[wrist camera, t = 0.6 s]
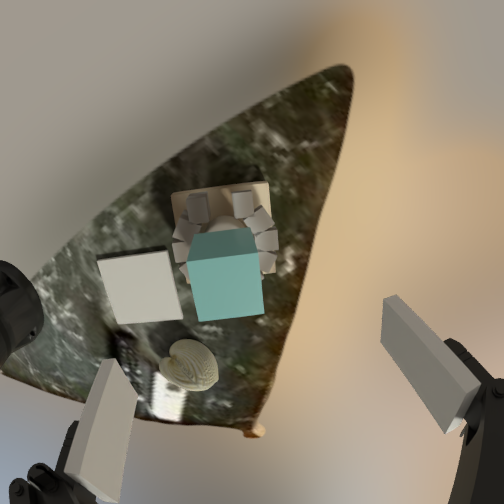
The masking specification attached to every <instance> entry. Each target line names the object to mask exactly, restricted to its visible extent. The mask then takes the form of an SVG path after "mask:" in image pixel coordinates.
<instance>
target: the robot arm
mask: <svg viewBox="0 0 504 504" xmlns="http://www.w3.org/2000/svg"><path fill="white" fill-rule="evenodd" d="M43 323H44V315H43V309H42V305H41V302H40V299H39V297H38V295H37V293H36V291H35V289H34V287H33V286H32V284H31V283H30V281H29V280H28V279H27V278H26V277H25V275H24V274H23V273H22V272H21V271H20V270H19V269H18V268H16V267H15V266H14V265H12V264H10V263H8V262H6V261H2V260H0V369H1V367H2V366H3V364H4V363H5V361H6V360H7V358H8V357H9V356H10V354H11V353H13V352H15V351H17V350H18V349H20V348H22V347H24V346H26V345H28V344H29V343H31V342H32V341H34V340H35V338H36V337H37V336H38V334H39V333H40V332H41V330H42V327H43ZM381 343H382V345H383V346H384V347H385V349H386V350H387V351H388V353H389V354H390V355H391V357H392V358H393V360H394V361H395V363H396V364H397V365H398V367H399V368H400V370H401V371H402V372H403V374H404V375H405V377H406V378H407V379H408V381H409V382H410V384H411V385H412V386H413V388H414V389H415V391H416V392H417V394H418V395H419V397H420V398H421V400H422V401H423V402H424V404H425V405H426V407H427V408H428V410H429V411H430V413H431V414H432V416H433V417H434V419H435V420H436V422H437V423H438V425H439V426H440V428H441V429H442V431H443V432H444V434H447V433H448V432H450V431H452V430H453V429H455V428H457V427H458V426H459V425H460V424H461V422H462V420H463V418H464V419H465V420H466V422H467V424H466V426H465V427H464V429H463V430H462V432H461V434H460V437H462V436H463V434H464V439H463V445H462V450H461V455H460V460H459V465H458V469H457V473H456V477H455V481H454V485H453V488H452V492H451V495H450V499H449V502H448V504H504V379H501V378H498V379H494V378H493V377H492V376H491V375H490V374H489V373H488V372H487V371H486V370H485V369H484V367H483V366H482V365H481V364H480V363H479V362H478V361H477V360H476V359H475V358H474V357H472V355H471V354H470V353H469V352H467V350H466V348H464V346H463V345H462V344H461V343H459V342H457V341H455V340H453V339H451V338H449V339H447V340H445V341H442V340H441V339H440V338H439V337H438V336H437V335H436V334H435V333H434V332H433V331H432V330H431V328H429V327H428V326H427V324H426V323H425V322H424V321H423V320H422V319H421V318H420V317H419V316H417V314H416V313H415V312H414V311H412V309H411V308H410V307H409V306H407V304H405V302H404V301H403V300H402V299H400V298H399V297H398V296H397V295H394V296H391V297H388V298H385V299H383V315H382V330H381ZM137 398H138V394H137V393H136V391H135V390H134V388H133V387H132V385H131V384H130V382H129V380H128V379H127V377H126V376H125V374H124V372H123V371H122V369H121V367H120V366H119V364H118V362H117V361H116V359H115V358H114V359H106V360H102V363H101V365H100V367H99V370H98V372H97V375H96V377H95V380H94V383H93V385H92V388H91V390H90V393H89V396H88V398H87V401H86V404H85V407H84V409H83V413H82V415H81V418H80V421H74V422H73V423H72V425H71V426H70V427H69V428H68V431H67V434H66V437H65V438H66V439H65V440H64V443H63V447H62V449H61V452H60V455H59V458H58V461H57V465H56V468H55V471H53V470H52V469H51V468H50V467H48V466H47V465H46V464H44V463H37V464H34V465H33V466H32V467H31V468H30V469H29V471H28V475H27V479H28V482H29V483H30V484H29V483H28V482H27V481H25V480H24V479H22V478H16V479H14V480H13V481H12V482H11V484H10V486H9V499H10V504H97V502H96V501H95V500H96V496H97V497H98V498H100V499H101V500H103V501H105V502H112V503H119V499H120V492H121V484H122V478H123V471H124V466H125V460H126V454H127V447H128V442H129V437H130V432H131V427H132V422H133V417H134V412H135V407H136V403H137Z"/></svg>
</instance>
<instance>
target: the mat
mask: <svg viewBox="0 0 504 504" xmlns="http://www.w3.org/2000/svg"><path fill="white" fill-rule="evenodd" d="M97 263H98V266H99V269H100V273H101V276H102V279H103V282H104V286H105V289H106V292H107V295H108V298H109V301H110V303H111V306H112V309H113V312H114V315H115V317H116V320H117V323H118V324H128V323H142V322H154V321H166V320H177V319H183V314H182V310H181V306H180V302H179V298H178V293H177V289H176V285H175V281H174V276H173V272H172V267H171V263H170V258H169V254H168V250H163V251H155V252H148V253H141V254H134V255H127V256H120V257H112V258H105V259H99V260H98V261H97Z"/></svg>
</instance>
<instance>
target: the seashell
mask: <svg viewBox="0 0 504 504" xmlns="http://www.w3.org/2000/svg"><path fill="white" fill-rule="evenodd" d="M169 353H170V356H171V357H165V358H163V359H162V360H161V361H160V364H159V369H160V372H161V374H162V375H163V376H164V377H165V378H166V379H167V380H168V381H170V382H171V383H173V384H175V385H176V386H178V387H180V388H183V389H185V390H189V391H190V390H191V391H201V390H202V391H203V390H207V389H208V388H210V387H211V386H212V385H213V384H214V383H215V382H217V381H218V378H219V377H218V366H217V362H216V360H215V357H214V355H213V354H212V352H211V351H210V350H209V349H208V348H207V347H206V346H205V345H204V344H202V343H200V342H198V341H195V340H192V339H183V340H179V341H177V342H175V343H174V344H172V346H171V347H170V350H169Z"/></svg>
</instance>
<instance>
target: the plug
mask: <svg viewBox="0 0 504 504" xmlns="http://www.w3.org/2000/svg"><path fill="white" fill-rule="evenodd" d="M186 263H187V268H188V273H189V278H190V283H191V287H192V292H193V297H194V301H195V306H196V310H197V314H198V319H199V321H208V320H217V319H226V318H234V317H242V316H250V315H257V314H264V306H263V296H262V286H261V275H260V265H259V255H258V250H257V247H256V244H255V241H254V234H253V233H252V231H251V228H250V227H246V228H244V226H243V224H242V223H241V222H240V221H239V220H238V219H235V217H232V216H228V215H223V216H218V217H216V218H214V219H213V220H211V221H210V222H209V223H208V225H207V227H206V229H205V233H200V234H194V237H193V240H192V244H191V247H190V250H189V254H188V257H187V261H186Z"/></svg>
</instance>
